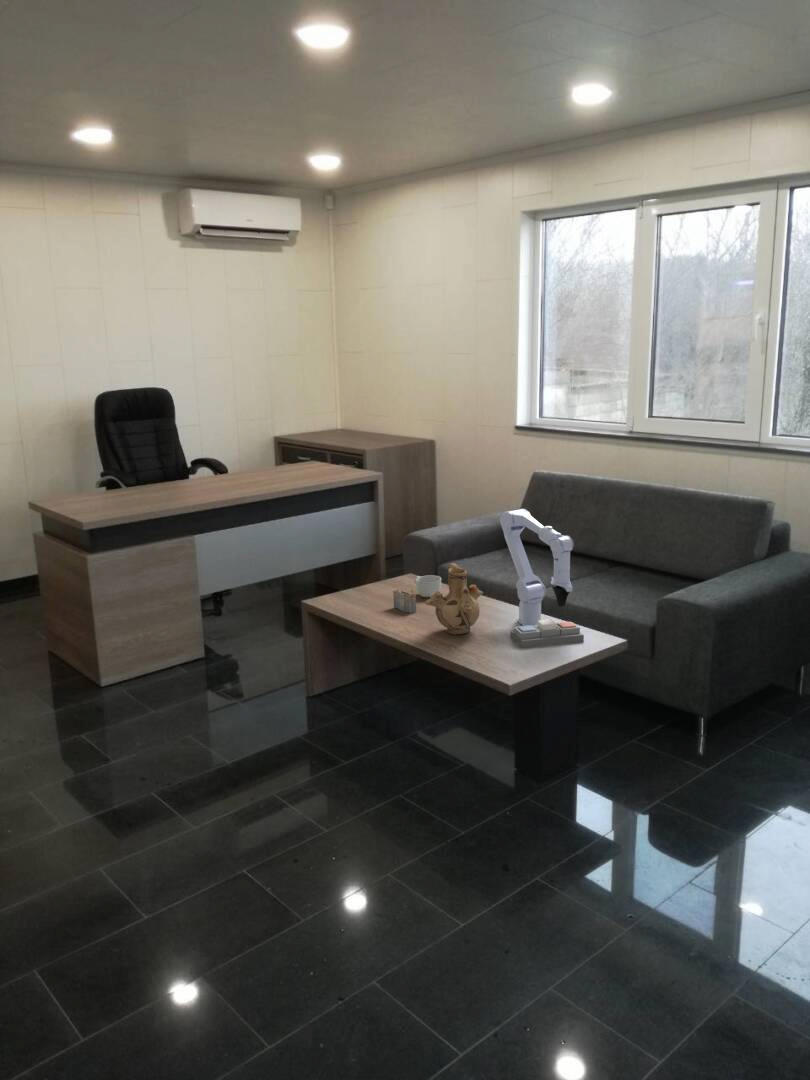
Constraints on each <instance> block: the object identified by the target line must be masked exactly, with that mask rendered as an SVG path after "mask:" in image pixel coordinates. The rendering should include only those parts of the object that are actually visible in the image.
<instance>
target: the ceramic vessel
mask: <svg viewBox="0 0 810 1080" xmlns="http://www.w3.org/2000/svg"><path fill="white" fill-rule="evenodd" d="M467 576H468V571H467V569H466V568H463V567H460V566H458V564H456V563H453V562H452V563H450V564H449V566H448V569H447V577H448V578H447V581H448V583H447V584H448V590H449V591H448V593H447V594H446V595H445V596H443V594H442V593H441V592H438V591H436V592H435V594H434V595H433V596H432V597H431V598H428V599H427V600H426V601H425V602H424V605H426V606H431V607H435V617H436V618H437V620H438V621H439V624H440V625H442V627H445V628H447V629H446V632H447V633H448V634H450V635H462V634H463V635H464V634H466V633H469V632H470V631H471V627H473V625H475V623H476V622H477V620H478V619H479V617H480V610H481V609H480V605H479V602H478V598H479V597H481V596H482V595H484V592H483V591H482V590H481V589H479V588H478V587H477V585H476V584H470V585H469V587H468V583H467V579H468V577H467Z"/></svg>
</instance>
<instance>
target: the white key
mask: <svg viewBox="0 0 810 1080" xmlns="http://www.w3.org/2000/svg"><path fill="white" fill-rule="evenodd" d="M556 623H557V622H555V621H553V620H552V619H541V620H540V621H538V627H539V628H540V629H541V630H542V631H543V630H553V629H556Z"/></svg>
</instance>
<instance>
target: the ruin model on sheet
mask: <svg viewBox="0 0 810 1080" xmlns="http://www.w3.org/2000/svg"><path fill="white" fill-rule="evenodd" d="M410 591H411V592H410V593H409V592H407V591H404V590H400V589H396V590H393V591H392V592H393V608H394V607H395V608H394V609H396V608H398V609H397V610H399V609H400V610H399V611H402V610H403V611H402V612H405V611H406V612H405V613H407V612H409V613H408V614H410V613H412V614H415V612H416V613H417V595H416V594H415V593H416V592H417V589H413V588H412V589H411V590H410Z"/></svg>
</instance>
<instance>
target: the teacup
mask: <svg viewBox="0 0 810 1080" xmlns="http://www.w3.org/2000/svg"><path fill="white" fill-rule="evenodd" d="M414 583H415V585H416V592H417V594H418V595H419V596H421V598H423V597H432V596H433V595H434V594H435V592H436V591H438V592H440V593H441V592H442V577H441V576H439V575H434V574H433V575H431V574H430V575H423V576H422V575H421V576H419V575H417V576H415V577H414Z"/></svg>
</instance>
